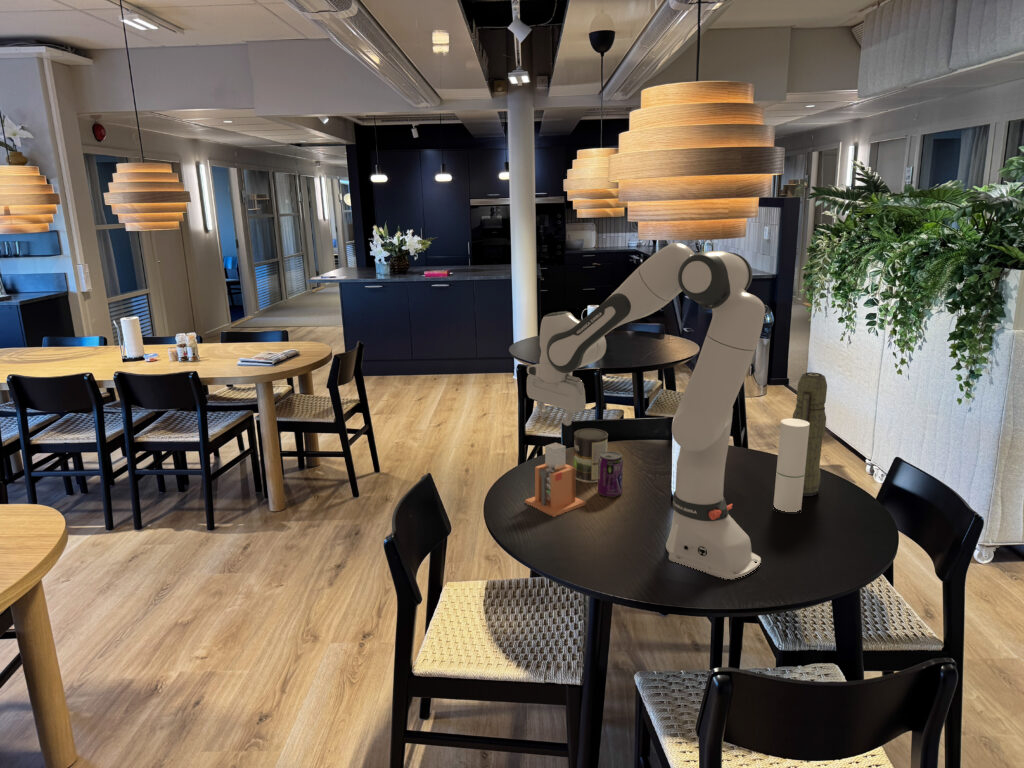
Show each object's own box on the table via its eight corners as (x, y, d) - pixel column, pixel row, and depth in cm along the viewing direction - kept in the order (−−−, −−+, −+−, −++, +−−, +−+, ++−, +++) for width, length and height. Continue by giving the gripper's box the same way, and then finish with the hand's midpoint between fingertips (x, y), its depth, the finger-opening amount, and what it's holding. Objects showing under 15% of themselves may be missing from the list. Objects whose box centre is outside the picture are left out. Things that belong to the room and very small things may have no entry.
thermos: (821, 486, 210) (833, 371, 201) (814, 501, 200) (827, 380, 191) (790, 481, 214) (800, 368, 206) (782, 494, 205) (792, 376, 196)
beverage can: (614, 500, 202) (615, 461, 199) (593, 494, 206) (593, 455, 203) (626, 492, 207) (627, 453, 204) (605, 487, 212) (606, 449, 209)
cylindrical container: (801, 506, 197) (810, 420, 190) (800, 516, 190) (808, 427, 184) (774, 502, 200) (782, 417, 193) (772, 512, 193) (779, 424, 187)
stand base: (585, 504, 199) (586, 467, 196) (553, 516, 192) (553, 478, 189) (556, 492, 208) (556, 456, 206) (525, 503, 201) (524, 465, 198)
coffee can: (574, 483, 215) (574, 438, 211) (572, 470, 225) (573, 428, 221) (608, 483, 214) (609, 439, 211) (605, 470, 224) (606, 428, 221)
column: (565, 500, 200) (565, 446, 196) (553, 504, 197) (553, 449, 193) (555, 495, 203) (555, 442, 199) (543, 499, 200) (543, 446, 196)
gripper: (591, 377, 185) (590, 427, 188) (539, 363, 200) (539, 410, 204) (574, 380, 181) (573, 432, 184) (522, 366, 196) (522, 414, 200)
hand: (555, 420), depth 194 cm, fingers open, 8 cm apart
